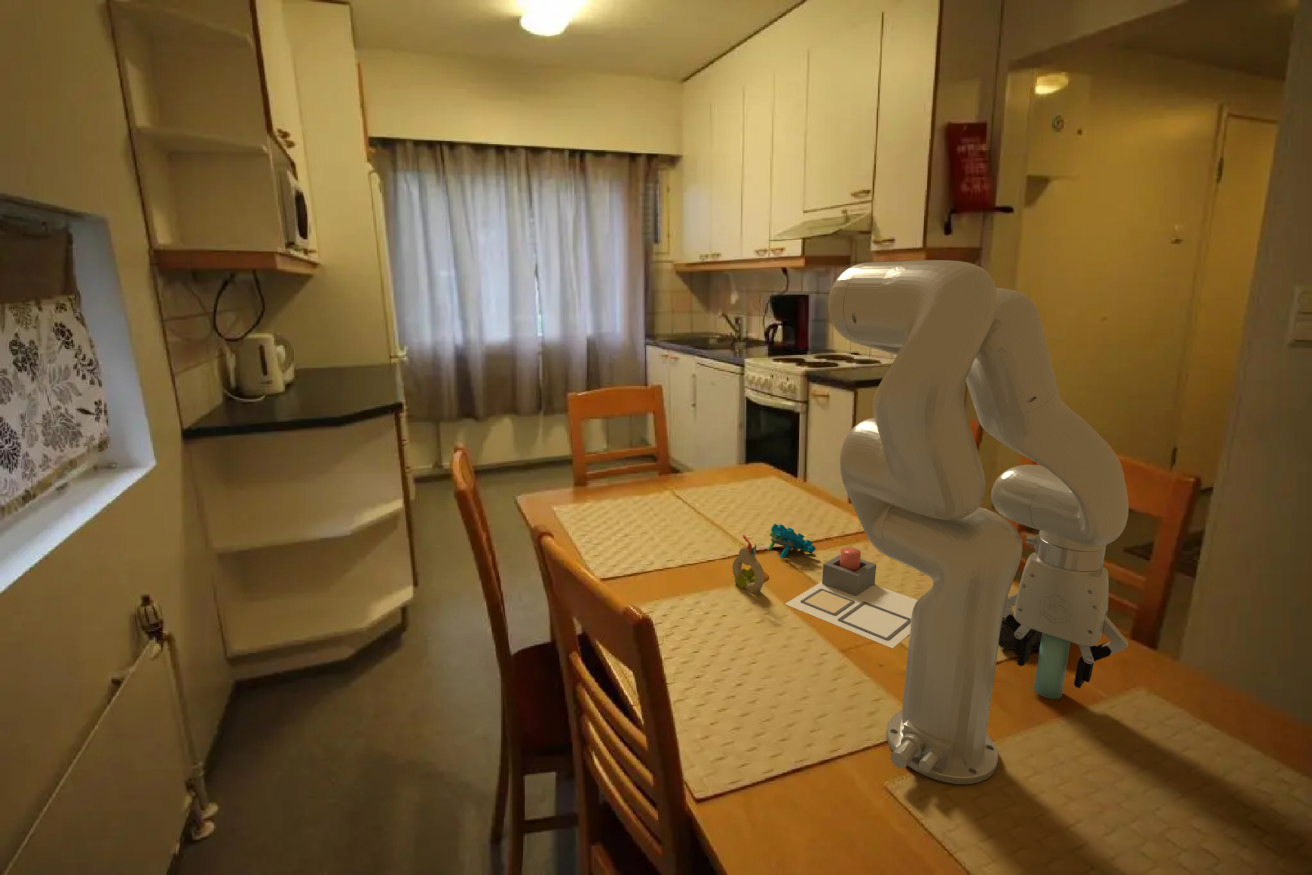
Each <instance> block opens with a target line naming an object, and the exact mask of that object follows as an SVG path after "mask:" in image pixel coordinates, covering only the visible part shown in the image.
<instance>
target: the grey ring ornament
mask: <svg viewBox="0 0 1312 875" xmlns="http://www.w3.org/2000/svg"><path fill="white" fill-rule="evenodd" d="M742 538H743V539H744V541H745V542H746V543H747V545H745V546H742V547H740V549H739V551H738V555H737V557H735V558H734V560H733V562H732V573H733V576H734V582H735V583H736V585H737V586H738V587H739V588H741V589H745V590H747V591H749V592H751V593H754V594H757V593H759V592H761V589H762V588H763V585H764V584H765V583H766V582H767V581H768V580H769V579H770V575H769V574H768V573H767V572H765V571H764V570H763V566H762V564H761V563H760V561H759V560H758V559H757V557H756V555H757V543H754V546H753V545H752V543H751V542H750V540H749V539H748V537H747V536H746V535H745V534H743V535H742ZM743 564H744V565H746V566H749V567H750V568H748V569H746V568H742V567H743Z"/></svg>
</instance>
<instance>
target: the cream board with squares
mask: <svg viewBox="0 0 1312 875" xmlns="http://www.w3.org/2000/svg"><path fill="white" fill-rule="evenodd" d="M917 601H918V599H916V598H912V597H911V596H907V595H904V594H902V593H899V592H897V591H892V590H890V589H887V588H884V587H882V586H879V585H876V584H874V585H872V586H871V587H869V588H868V589H866V590H865V591H863V592H862V593H860V594H859V595H857V596H854V595H851V594H848V593H846V592H843V591H840V590H838V589H835V588H832V587H829V586H827V585H824V584H822V581H820V582H819V583H817V584H815V585H813V586H812V587H810V588H809V589H807V590H806V591H804V592H802V593H801V594H799V595H797V596H795V597H794V598H792V599H791V600H789V601H787V602H786V603H784V605H785V606H788V607H791V608H793V609H796V610H798V611H801V612H803V613H805V614H807V615H810V616H811V617H815V618H817V619H820V620H822V621H824V622H827V623H830V624H831V625H834V626H836V627H838V628H842V629H843V630H846V631H848V632H851V633H854V634H856V635H859V636H861V637H863V638H866V639H868V640H870V641H872V642H876V643H877V644H879V645H883V646H885V647H887V648H890V649H892V650H893V649H894V648H895V647H896V646H898V645H899V644H900V643H901V642H902V641H903V640H905V639H906V638H907V637H908V636H910V625H911V616H912V611H913V608H914V606H915V604H916V602H917Z"/></svg>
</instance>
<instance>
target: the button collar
mask: <svg viewBox="0 0 1312 875" xmlns="http://www.w3.org/2000/svg"><path fill="white" fill-rule="evenodd" d="M876 572H877V564H876V563H874V562H871V561H868V560H865V559H862V558H860V569H859V570H857V571H855V572H854V571H851V570H848V569H845V568H842V567H840V554H839V555H837V556H835V557H834V558H831V559H830V560H828V561H826V562H824V563H823V564H822V580H821V582H822V584H824V585H827V586H829V587H832V588H835V589H838V590H840V591H843V592H846V593H848V594H851V595H854V596H857V595H859V594H860V593H862V592H863V591H865V590H866V589H868V588H869V587H871V586H872V585H876Z"/></svg>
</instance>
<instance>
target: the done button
mask: <svg viewBox="0 0 1312 875" xmlns="http://www.w3.org/2000/svg"><path fill="white" fill-rule="evenodd" d="M861 554H862V552H861V550H860V549H858V548H855V547H850V546H849V547H842V548H841V549H840V554H839V555H840V567H842V568H845V569H848V570H851V571H854V572H855V571H857V570H859V569H860V559H861V557H862V556H861Z"/></svg>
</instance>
